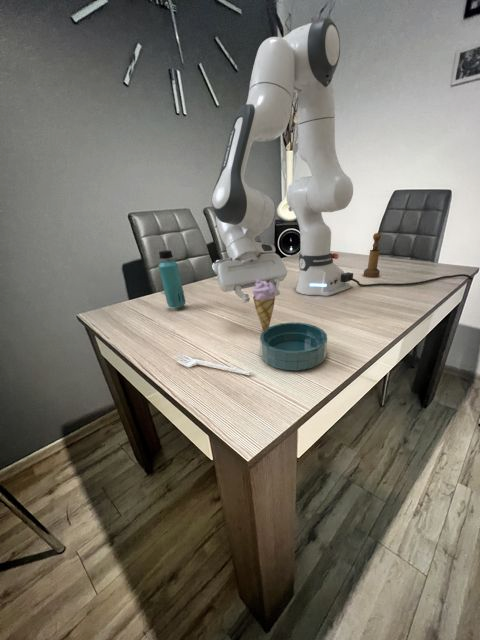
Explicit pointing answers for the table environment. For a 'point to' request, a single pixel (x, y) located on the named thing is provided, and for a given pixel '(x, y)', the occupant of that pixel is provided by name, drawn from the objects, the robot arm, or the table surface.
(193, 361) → the fork
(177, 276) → the beverage bottle
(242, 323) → the table surface
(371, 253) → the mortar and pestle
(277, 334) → the bowl
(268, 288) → the ice cream cone
